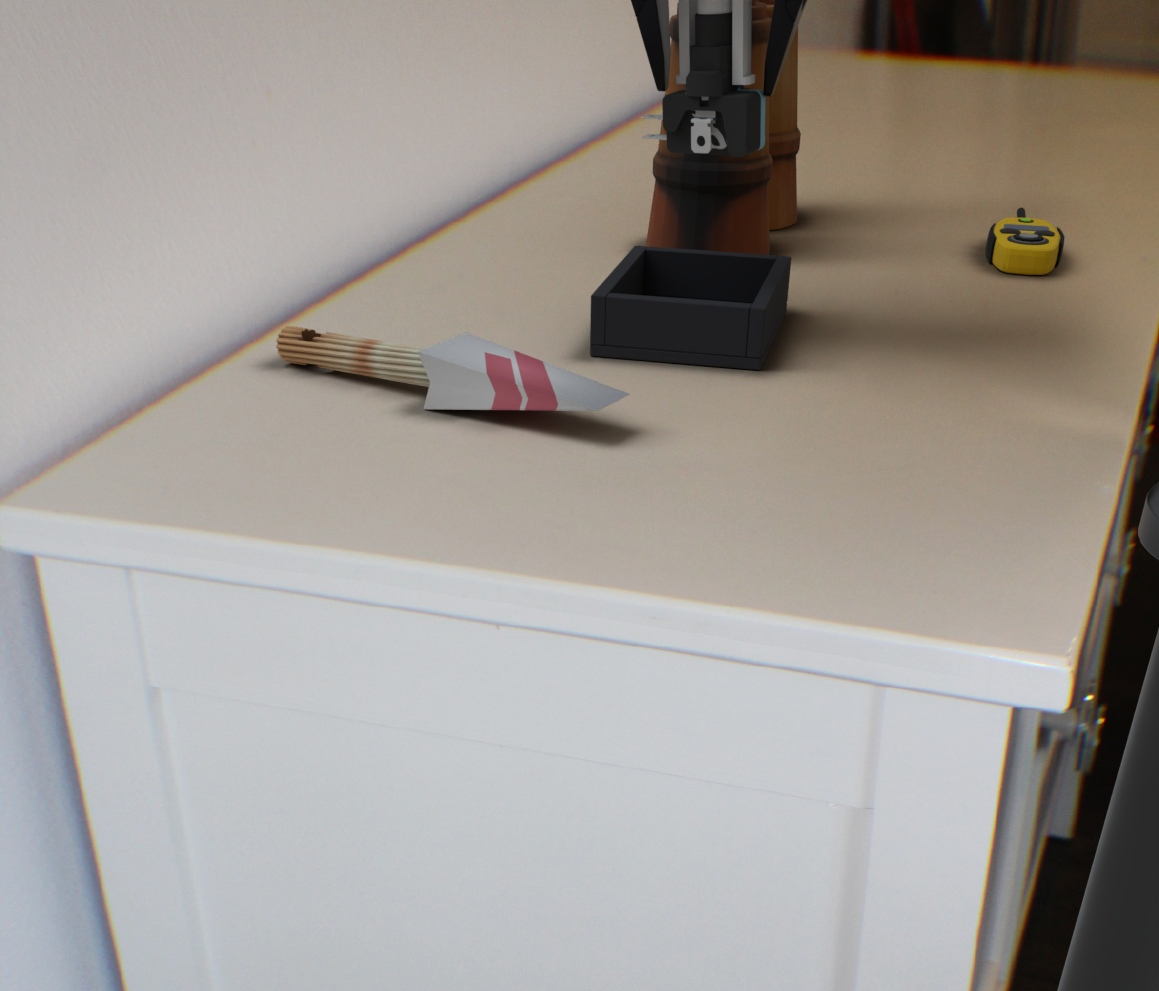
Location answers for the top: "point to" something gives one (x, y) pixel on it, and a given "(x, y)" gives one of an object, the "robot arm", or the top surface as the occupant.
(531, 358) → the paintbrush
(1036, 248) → the yellow walkie talkie
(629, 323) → the black hollow square tray
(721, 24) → the push button
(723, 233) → the binoculars
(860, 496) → the top surface
